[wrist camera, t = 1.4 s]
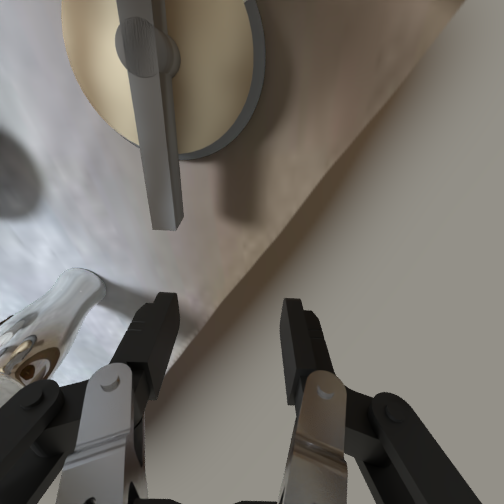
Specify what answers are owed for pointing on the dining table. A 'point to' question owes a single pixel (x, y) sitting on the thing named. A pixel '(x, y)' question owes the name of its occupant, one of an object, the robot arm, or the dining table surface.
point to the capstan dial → (162, 79)
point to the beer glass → (46, 330)
